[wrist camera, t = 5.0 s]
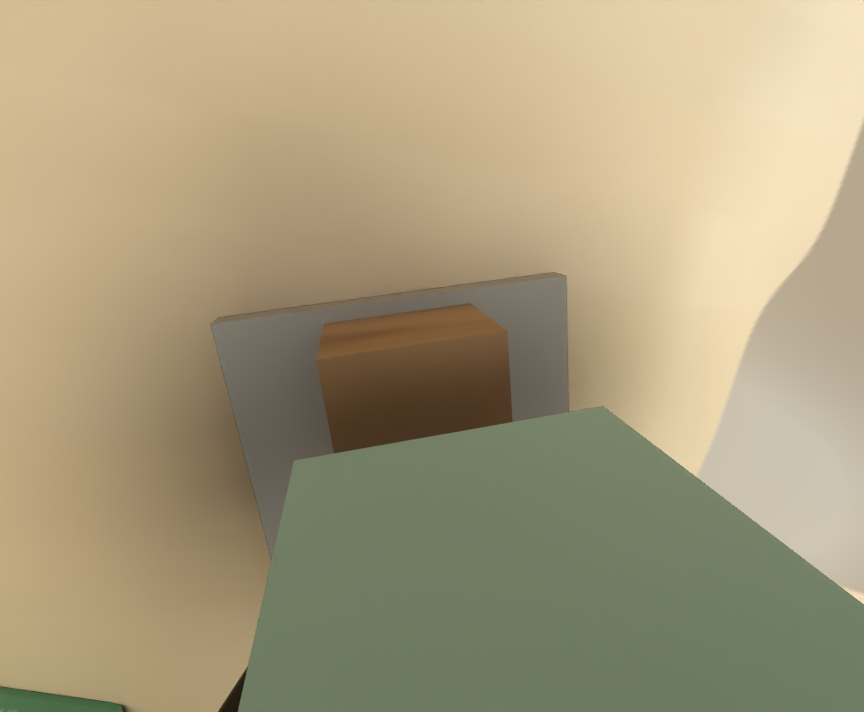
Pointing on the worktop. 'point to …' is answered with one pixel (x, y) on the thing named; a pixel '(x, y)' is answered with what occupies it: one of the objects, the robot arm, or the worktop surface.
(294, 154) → the worktop surface
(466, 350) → the walnut base
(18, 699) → the box
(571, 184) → the worktop surface
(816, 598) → the teal block
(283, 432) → the board
